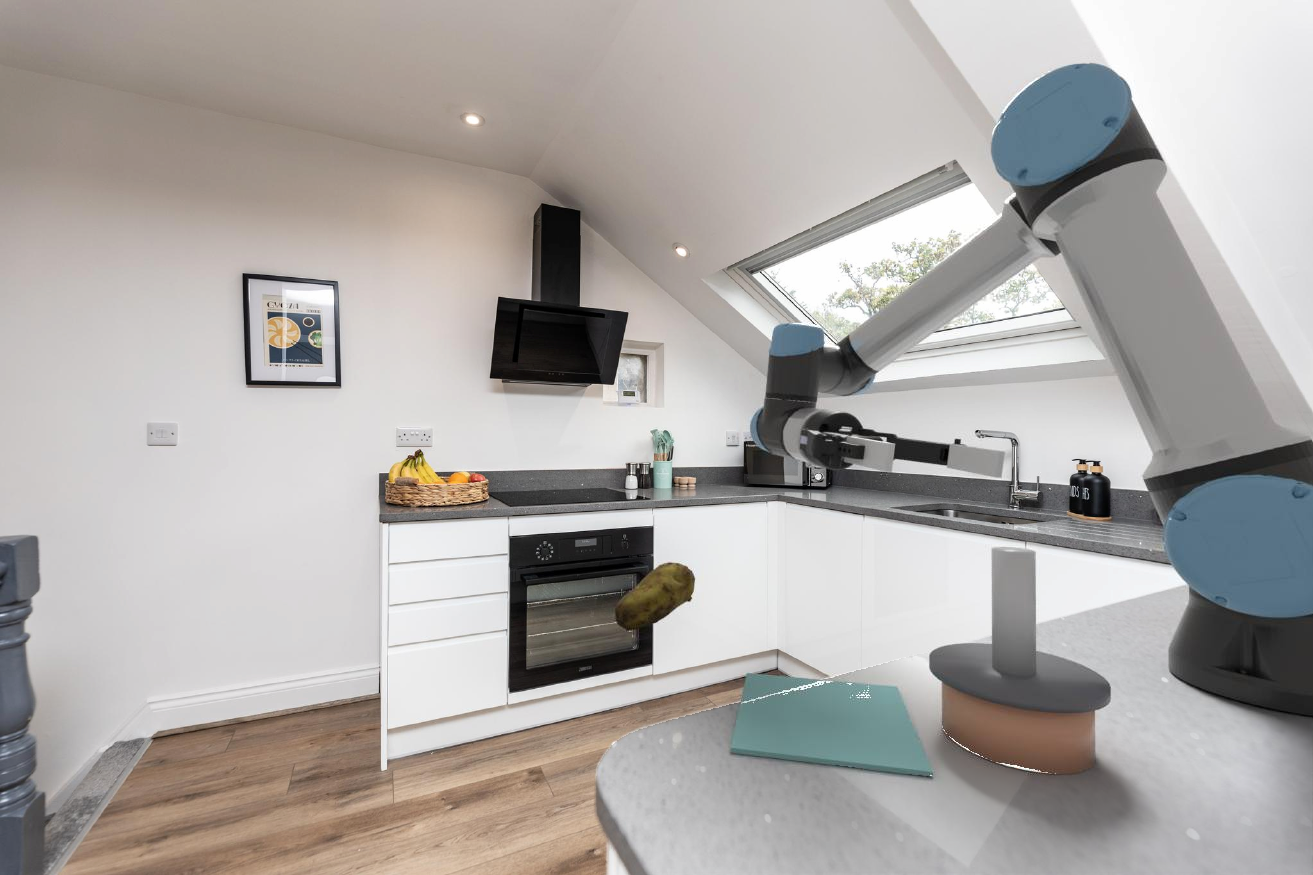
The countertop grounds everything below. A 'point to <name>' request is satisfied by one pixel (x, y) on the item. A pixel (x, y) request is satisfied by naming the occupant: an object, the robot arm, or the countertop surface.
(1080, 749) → the orange bowl
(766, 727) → the mat
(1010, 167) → the robot arm
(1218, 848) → the countertop surface
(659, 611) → the potato
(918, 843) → the countertop surface
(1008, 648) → the lid
